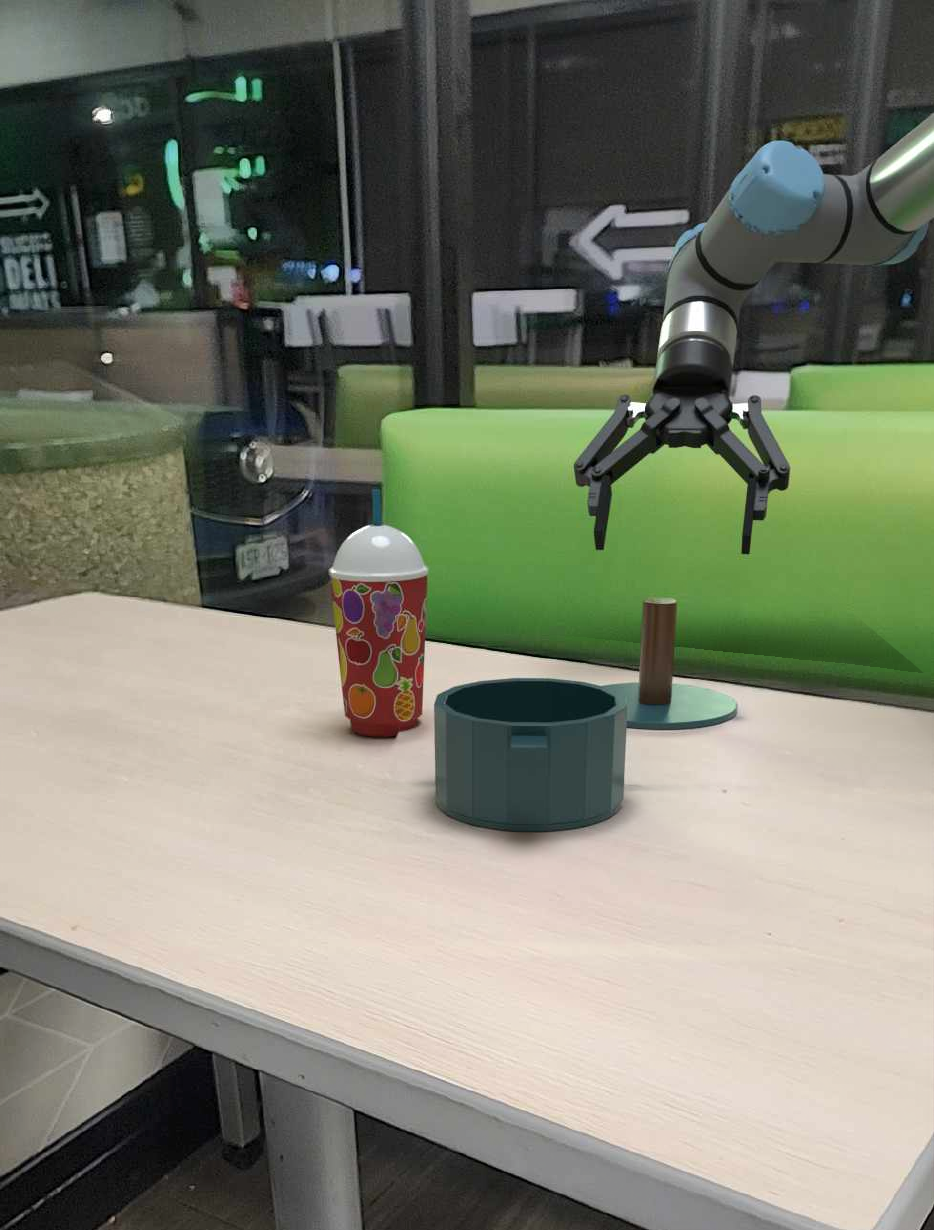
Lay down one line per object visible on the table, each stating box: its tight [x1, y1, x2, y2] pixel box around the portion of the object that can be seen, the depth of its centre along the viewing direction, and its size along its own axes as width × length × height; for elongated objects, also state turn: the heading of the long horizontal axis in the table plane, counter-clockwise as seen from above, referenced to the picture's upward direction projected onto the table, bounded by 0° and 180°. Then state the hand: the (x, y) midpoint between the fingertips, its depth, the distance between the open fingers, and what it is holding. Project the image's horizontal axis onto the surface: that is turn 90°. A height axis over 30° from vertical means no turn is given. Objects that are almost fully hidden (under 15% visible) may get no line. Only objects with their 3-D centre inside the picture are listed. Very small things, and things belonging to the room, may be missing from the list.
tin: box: [433, 677, 628, 833], centre depth 91 cm, size 14×19×8 cm
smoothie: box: [328, 489, 430, 738], centre depth 107 cm, size 8×8×20 cm
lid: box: [602, 597, 738, 730], centre depth 113 cm, size 15×15×10 cm
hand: (671, 543), depth 117 cm, fingers open, 13 cm apart
